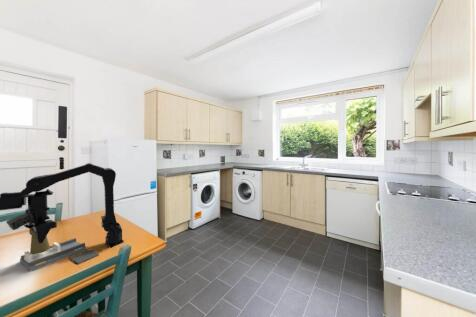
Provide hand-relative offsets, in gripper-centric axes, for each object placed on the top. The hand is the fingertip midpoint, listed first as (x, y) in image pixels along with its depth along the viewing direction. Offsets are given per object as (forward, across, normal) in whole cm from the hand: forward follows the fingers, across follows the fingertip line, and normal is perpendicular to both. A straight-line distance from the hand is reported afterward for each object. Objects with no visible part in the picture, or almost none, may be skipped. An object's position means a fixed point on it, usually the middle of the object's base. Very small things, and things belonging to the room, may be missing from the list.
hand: (38, 241), depth 81 cm
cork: (+4, 0, 0) cm, 4 cm away
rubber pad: (+9, +12, +11) cm, 19 cm away
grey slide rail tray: (+9, 0, +5) cm, 10 cm away
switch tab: (+7, 0, +1) cm, 7 cm away
